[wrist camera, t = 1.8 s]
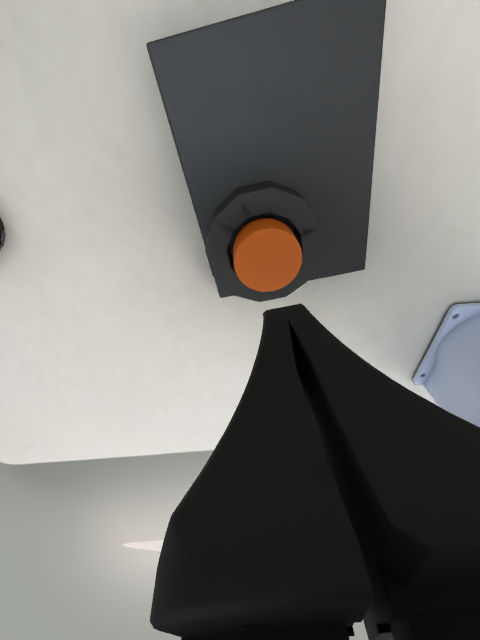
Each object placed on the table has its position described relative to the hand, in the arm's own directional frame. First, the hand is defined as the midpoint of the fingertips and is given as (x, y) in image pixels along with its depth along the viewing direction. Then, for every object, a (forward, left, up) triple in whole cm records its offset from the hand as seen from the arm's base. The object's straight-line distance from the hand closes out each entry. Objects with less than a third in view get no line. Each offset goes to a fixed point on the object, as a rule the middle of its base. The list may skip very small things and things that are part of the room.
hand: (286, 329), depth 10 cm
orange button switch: (+3, -1, -10) cm, 11 cm away
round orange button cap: (0, 0, -7) cm, 7 cm away
